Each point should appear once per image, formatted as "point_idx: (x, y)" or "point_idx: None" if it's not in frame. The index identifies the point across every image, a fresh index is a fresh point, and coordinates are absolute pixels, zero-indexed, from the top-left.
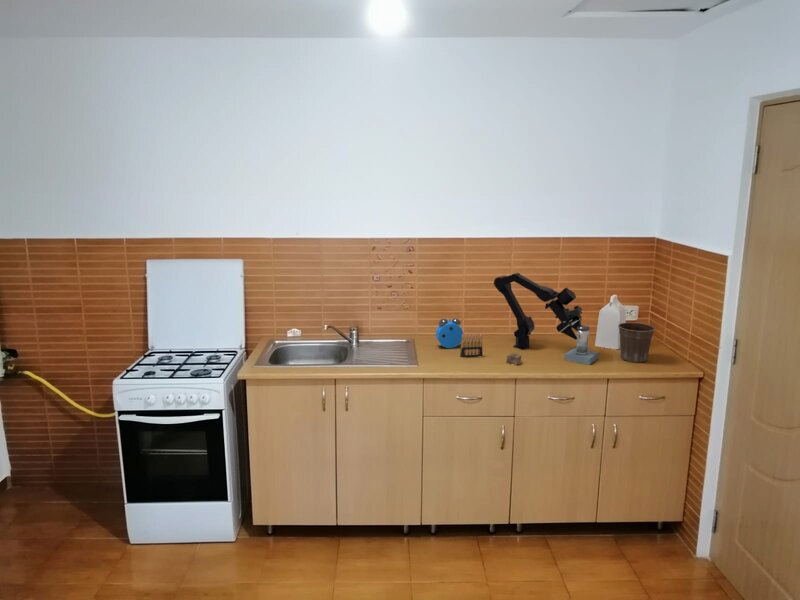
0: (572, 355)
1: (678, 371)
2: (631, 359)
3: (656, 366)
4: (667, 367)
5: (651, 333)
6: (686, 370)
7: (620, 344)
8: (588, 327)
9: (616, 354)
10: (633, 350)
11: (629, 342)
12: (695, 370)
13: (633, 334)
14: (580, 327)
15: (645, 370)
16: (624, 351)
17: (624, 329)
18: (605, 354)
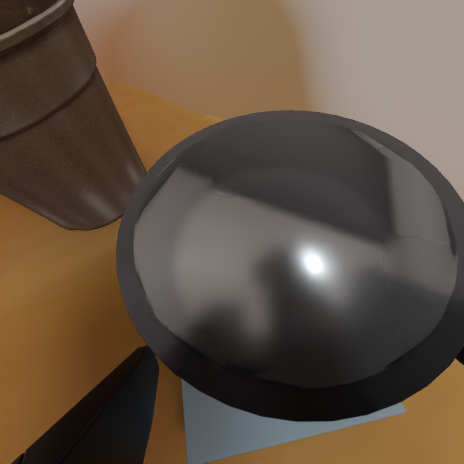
0: None
1: (144, 93)
2: (143, 165)
3: (137, 127)
4: (128, 113)
5: (24, 14)
6: (125, 90)
7: (77, 178)
8: (236, 133)
9: (71, 257)
10: (124, 128)
11: (106, 102)
12: (113, 85)
13: (82, 29)
14: (420, 209)
15: (196, 123)
16: (124, 167)
17: (50, 18)
18: (98, 290)
